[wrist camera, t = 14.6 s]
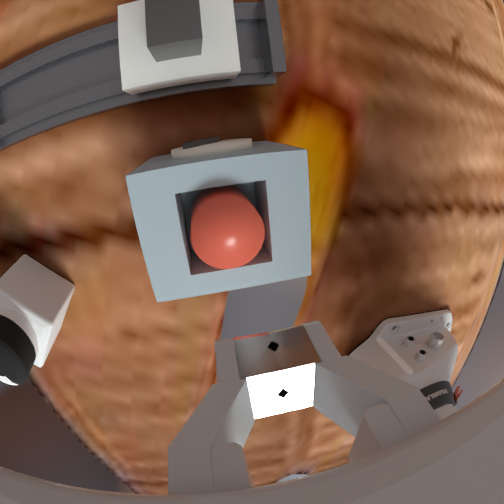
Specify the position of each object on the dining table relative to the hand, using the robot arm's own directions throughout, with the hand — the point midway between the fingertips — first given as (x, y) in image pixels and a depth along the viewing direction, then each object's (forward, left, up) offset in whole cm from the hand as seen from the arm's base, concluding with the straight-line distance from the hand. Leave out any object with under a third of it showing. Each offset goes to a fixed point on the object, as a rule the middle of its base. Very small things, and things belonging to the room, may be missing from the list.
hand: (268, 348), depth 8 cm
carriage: (+2, -13, -17) cm, 22 cm away
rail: (+8, -13, -20) cm, 25 cm away
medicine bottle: (+21, +7, -20) cm, 30 cm away
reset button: (0, 0, -13) cm, 13 cm away
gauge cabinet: (0, 0, -20) cm, 20 cm away
